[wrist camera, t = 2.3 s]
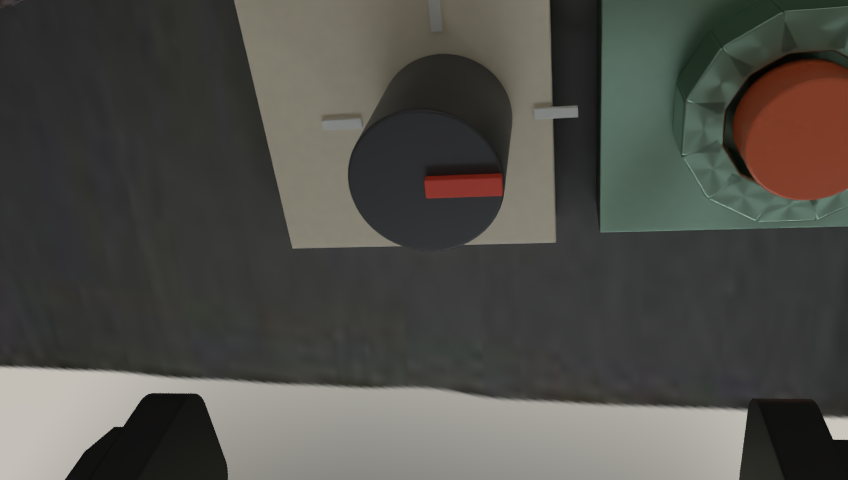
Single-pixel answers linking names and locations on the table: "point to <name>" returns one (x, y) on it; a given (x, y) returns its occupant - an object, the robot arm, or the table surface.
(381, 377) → the table surface
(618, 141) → the button box
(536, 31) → the control panel
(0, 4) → the perforated stone tool
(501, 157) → the dial
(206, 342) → the table surface
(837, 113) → the button
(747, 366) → the table surface
